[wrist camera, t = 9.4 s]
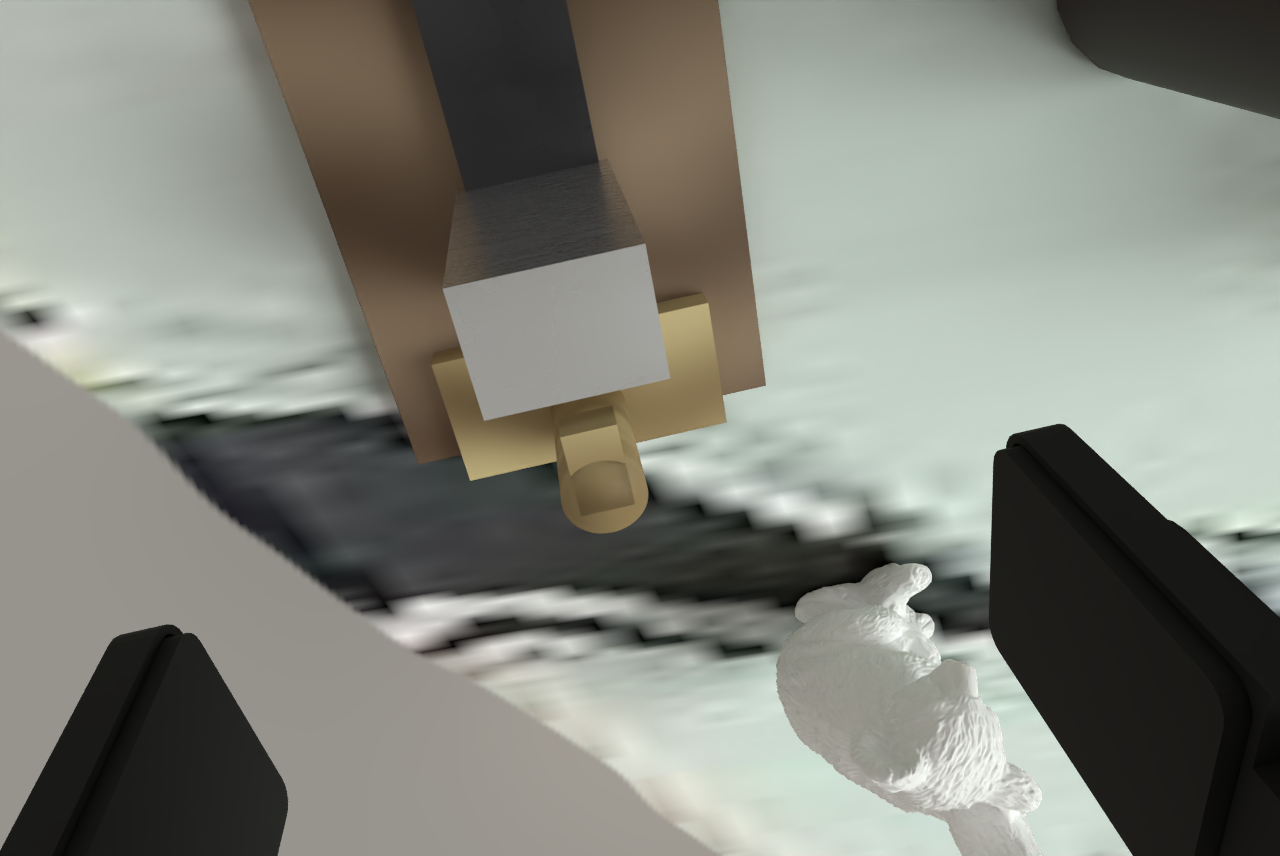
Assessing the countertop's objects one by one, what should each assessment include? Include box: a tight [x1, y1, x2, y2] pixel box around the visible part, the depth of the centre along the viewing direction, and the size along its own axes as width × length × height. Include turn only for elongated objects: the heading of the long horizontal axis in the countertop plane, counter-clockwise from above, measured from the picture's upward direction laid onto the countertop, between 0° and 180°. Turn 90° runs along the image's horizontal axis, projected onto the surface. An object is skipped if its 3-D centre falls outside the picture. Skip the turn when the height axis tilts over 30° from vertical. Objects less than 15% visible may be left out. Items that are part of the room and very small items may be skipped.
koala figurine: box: [776, 563, 1044, 856], centre depth 30 cm, size 8×7×12 cm
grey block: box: [412, 0, 670, 421], centre depth 19 cm, size 14×4×7 cm, turn 11°
